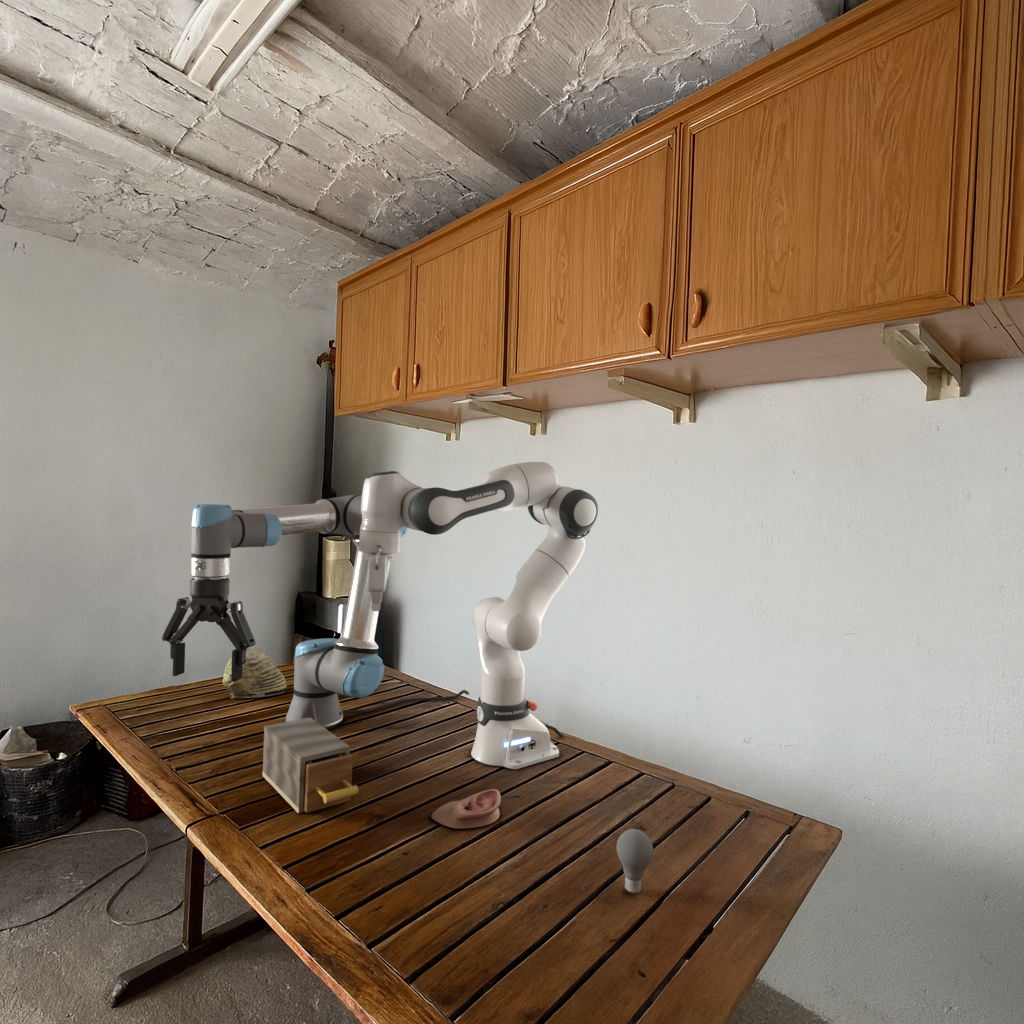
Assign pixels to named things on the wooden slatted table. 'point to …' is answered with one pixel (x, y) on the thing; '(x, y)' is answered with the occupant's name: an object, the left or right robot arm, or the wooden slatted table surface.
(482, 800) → the anatomical model
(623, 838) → the light bulb
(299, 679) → the left robot arm
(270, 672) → the fossil
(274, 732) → the cabinet
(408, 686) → the wooden slatted table surface
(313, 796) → the drawer
